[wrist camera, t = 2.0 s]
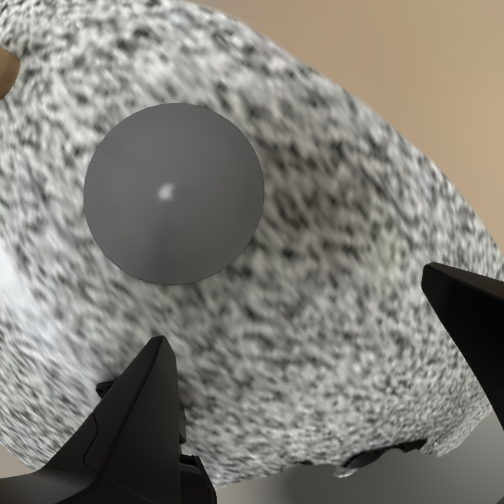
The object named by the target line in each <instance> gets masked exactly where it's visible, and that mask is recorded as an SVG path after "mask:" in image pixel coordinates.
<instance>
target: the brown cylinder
mask: <svg viewBox="0 0 504 504" xmlns="http://www.w3.org/2000/svg"><path fill="white" fill-rule="evenodd" d="M18 71H19V60H18V58H17V57H16V56H15V55H13V54H12V53H10V52H8V51H7V50H5V49H3V48H2V47H0V99H2V98H3V97H4V96H5V95H6V94H7V93H8V91H9V90H10V89H11V87H12V86H13V84H14V82H15V80H16V78H17V75H18Z"/></svg>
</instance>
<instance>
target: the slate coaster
mask: <svg viewBox="0 0 504 504" xmlns="http://www.w3.org/2000/svg"><path fill="white" fill-rule="evenodd" d="M263 200H264V182H263V176H262V170H261V167H260V164H259V161H258V158H257V156H256V154H255V152H254V149H253V148H252V146H251V145H250V143H249V141H248V140H247V138H246V137H245V136H244V135H243V134H242V132H241V131H240V130H239V129H238V128H237V127H236V126H235V125H233V124H232V123H231V122H230V121H229V120H227V119H226V118H224V117H223V116H221V115H219V114H217V113H215V112H213V111H211V110H209V109H206V108H203V107H200V106H196V105H190V104H182V103H170V104H161V105H156V106H152V107H148V108H146V109H143V110H141V111H138V112H136V113H134V114H132V115H131V116H129V117H127V118H126V119H124V120H123V121H122V122H120V123H119V124H118V125H116V126H115V127H114V128H113V129H112V130H111V131H110V132H109V133H108V134H107V135H106V137H105V138H104V139H103V140H102V142H101V143H100V144H99V146H98V148H97V149H96V151H95V153H94V154H93V157H92V159H91V161H90V164H89V166H88V170H87V173H86V177H85V184H84V209H85V215H86V219H87V223H88V226H89V229H90V231H91V234H92V236H93V238H94V239H95V241H96V243H97V245H98V246H99V248H100V249H101V250H102V252H103V253H104V254H105V255H106V256H107V257H108V258H109V259H110V260H111V261H112V263H114V264H115V265H116V266H117V267H119V268H120V269H121V270H123V271H125V272H126V273H128V274H130V275H131V276H134V277H136V278H138V279H141V280H144V281H147V282H151V283H155V284H162V285H180V284H188V283H192V282H196V281H199V280H202V279H205V278H208V277H210V276H212V275H214V274H215V273H217V272H219V271H221V270H222V269H223V268H225V267H226V266H228V265H229V264H230V263H231V262H232V261H234V260H235V259H236V258H237V257H238V256H239V254H240V253H241V252H242V251H243V250H244V249H245V247H246V246H247V244H248V243H249V241H250V240H251V238H252V236H253V234H254V232H255V230H256V228H257V226H258V223H259V220H260V217H261V213H262V208H263Z"/></svg>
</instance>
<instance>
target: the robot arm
mask: <svg viewBox="0 0 504 504" xmlns="http://www.w3.org/2000/svg"><path fill="white" fill-rule="evenodd" d="M421 287H422V290H423V292H424V294H425V296H426V297H427V299H428V301H429V302H430V304H431V306H432V307H433V309H434V311H435V313H436V314H437V316H438V318H439V320H440V321H441V323H442V324H443V326H444V327H445V329H446V330H447V332H448V333H449V335H450V336H451V338H452V339H453V341H454V342H455V344H456V345H457V347H458V348H459V350H460V352H461V353H462V355H463V356H464V358H465V360H466V361H467V363H468V364H469V366H470V368H471V369H472V371H473V373H474V375H475V376H476V378H477V380H478V381H479V383H480V385H481V387H482V389H483V390H484V392H485V394H486V396H487V398H488V400H489V401H490V403H491V405H492V408H493V409H494V411H495V413H496V415H497V418H498V420H499V422H500V423H501V426H502V428H503V430H504V282H503V281H500V280H496V279H493V278H490V277H486V276H483V275H479V274H476V273H472V272H469V271H465V270H462V269H458V268H455V267H451V266H448V265H444V264H440V263H437V262H431V263H429V264H426V265H425V266H424V268H423V275H422V282H421ZM100 389H102V390H100ZM96 392H97V393H98V395H99V396H100V397H101V399H102V400H101V401H100V402H99V404H98V405H97V406H96V407H95V409H94V410H93V412H91V414H90V415H89V416H88V418H87V419H86V420H85V421H84V423H83V424H82V425H81V426H80V427H79V429H78V430H77V431H76V432H75V433H74V434H73V436H72V437H71V438H70V439H69V440H68V441H67V442H66V443H65V444H64V445H63V447H62V448H61V449H60V450H59V451H58V452H57V453H56V454H55V455H54V456H53V457H52V458H51V459H50V460H49V461H48V463H47V464H46V465H45V466H43V467H42V468H41V469H39V470H37V471H36V472H33V473H30V474H25V475H20V476H14V477H8V478H0V504H217V496H216V492H215V489H214V487H213V485H212V483H211V481H210V479H209V477H208V475H207V473H206V471H205V469H204V466H203V464H202V462H201V460H200V458H199V456H194V455H192V456H189V455H184V454H182V451H181V444H184V443H185V442H186V431H185V420H186V418H185V414H184V409H183V407H182V405H181V404H180V402H179V391H178V380H177V368H176V357H175V354H174V352H173V350H172V348H171V346H170V344H169V342H168V340H167V339H166V337H165V336H163V335H162V336H156V337H152V338H151V339H150V340H149V341H148V343H147V344H146V345H145V346H144V348H143V349H142V350H141V351H140V352H139V354H138V355H137V356H136V357H135V359H134V360H133V361H132V362H131V364H130V365H129V366H128V367H127V368H126V370H125V371H124V372H123V373H122V375H121V376H120V377H119V378H118V380H117V381H113V382H108V383H103V384H98V385H97V386H96ZM496 504H504V497H503V498H502V499H501V500H500V501H498V502H497V503H496Z"/></svg>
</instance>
